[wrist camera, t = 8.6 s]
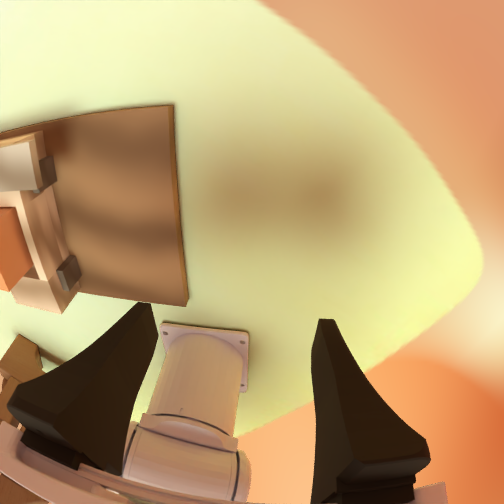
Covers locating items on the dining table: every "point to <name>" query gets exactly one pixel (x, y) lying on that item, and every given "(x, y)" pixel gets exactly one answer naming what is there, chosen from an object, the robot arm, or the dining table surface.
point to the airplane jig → (97, 207)
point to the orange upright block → (12, 249)
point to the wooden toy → (14, 372)
